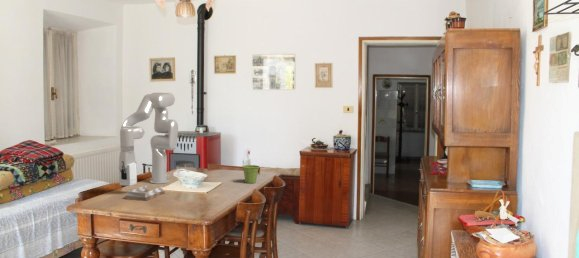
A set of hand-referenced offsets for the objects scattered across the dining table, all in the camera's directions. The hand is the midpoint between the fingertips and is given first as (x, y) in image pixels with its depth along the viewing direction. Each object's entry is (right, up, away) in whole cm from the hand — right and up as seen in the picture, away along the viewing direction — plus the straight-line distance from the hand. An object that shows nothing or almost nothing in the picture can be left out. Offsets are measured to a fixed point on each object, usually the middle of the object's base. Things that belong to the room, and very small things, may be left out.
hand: (128, 177), depth 281 cm
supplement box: (0, -4, +1) cm, 4 cm away
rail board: (+12, -10, -7) cm, 17 cm away
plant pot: (+70, -8, +40) cm, 81 cm away
